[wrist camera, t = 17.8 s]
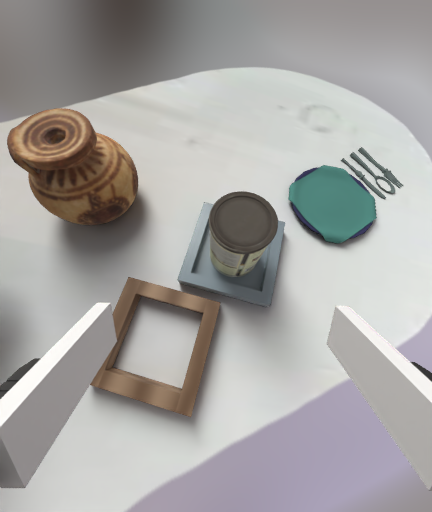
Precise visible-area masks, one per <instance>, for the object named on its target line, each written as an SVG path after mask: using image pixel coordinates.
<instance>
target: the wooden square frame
mask: <svg viewBox="0 0 432 512" xmlns="http://www.w3.org/2000/svg"><path fill="white" fill-rule="evenodd" d="M141 296H143V297H146V298H150V299H153V300H157V301H160V302H164V303H167V304H171V305H174V306H178V307H181V308H185V309H188V310H192V311H195V312H199V313H202V314H203V317H202V320H201V324H200V327H199V331H198V334H197V338H196V341H195V345H194V348H193V352H192V356H191V359H190V363H189V366H188V370H187V373H186V377H185V380H184V384H183V387H182V389H181V388H177V387H174V386H171V385H168V384H164V383H161V382H158V381H155V380H152V379H148V378H145V377H142V376H139V375H136V374H132V373H129V372H126V371H123V370H119V369H116V368H113V365H114V362H115V360H116V357H117V355H118V352H119V350H120V347H121V345H122V342H123V340H124V337H125V335H126V332H127V330H128V327H129V325H130V322H131V320H132V317H133V315H134V312H135V310H136V307H137V305H138V302H139V300H140V297H141ZM219 307H220V302H216V301H213V300H209V299H206V298H202V297H198V296H195V295H191V294H188V293H184V292H181V291H177V290H173V289H170V288H166V287H163V286H159V285H155V284H152V283H148V282H145V281H141V280H138V279H134V278H130V277H128V280H127V282H126V284H125V287H124V289H123V291H122V294H121V296H120V298H119V300H118V303H117V305H116V307H115V310H114V312H113V314H112V315H113V321H114V327H115V333H116V339H117V342H116V344H115V345H114V347H113V348H112V350H111V352H110V353H109V355H108V356H107V358H106V360H105V361H104V363H103V364H102V366H101V368H100V369H99V371H98V372H97V374H96V376H95V377H94V379H93V380H92V382H91V384H90V385H92V386H95V387H98V388H101V389H104V390H107V391H111V392H114V393H117V394H120V395H123V396H126V397H129V398H132V399H136V400H139V401H142V402H145V403H148V404H151V405H154V406H158V407H161V408H164V409H167V410H170V411H173V412H176V413H179V414H183V415H186V416H189V417H191V415H192V411H193V407H194V403H195V399H196V396H197V392H198V388H199V384H200V380H201V376H202V372H203V369H204V365H205V361H206V357H207V353H208V349H209V346H210V342H211V338H212V334H213V330H214V326H215V322H216V319H217V315H218V311H219Z"/></svg>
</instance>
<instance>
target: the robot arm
mask: <svg viewBox="0 0 432 512" xmlns="http://www.w3.org/2000/svg"><path fill="white" fill-rule="evenodd" d="M116 342H117V339H116V333H115V327H114V321H113V315H112V309H111V303H96V304H95V305H94V306H93V307H92V308H91V309H90V310H89V311H88V312H87V313H86V314H85V315H84V316H83V317H82V318H81V319H80V320H79V321H78V322H77V323H76V324H75V325H74V326H73V327H72V328H71V329H70V330H69V331H68V332H67V333H66V334H65V335H64V336H63V337H62V338H61V339H60V340H59V341H58V342H57V343H56V344H55V345H54V346H53V347H52V348H51V349H50V350H49V351H48V352H47V353H46V354H45V355H44V356H43V357H42V358H41V359H33V360H32V361H30V362H28V363H27V364H25V365H24V366H22V367H21V368H19V369H18V370H17V371H16V372H15V373H14V374H13V375H12V376H11V377H10V378H9V379H8V380H7V382H4V383H3V384H2V385H1V386H0V487H1V488H25V487H26V486H27V484H28V482H29V481H30V479H31V478H32V476H33V474H34V473H35V471H36V470H37V468H38V467H39V465H40V463H41V462H42V460H43V459H44V457H45V455H46V454H47V452H48V451H49V449H50V447H51V446H52V444H53V443H54V441H55V439H56V438H57V436H58V435H59V433H60V431H61V430H62V428H63V427H64V425H65V423H66V422H67V420H68V419H69V417H70V415H71V414H72V412H73V411H74V409H75V408H76V406H77V404H78V403H79V401H80V400H81V398H82V396H83V395H84V393H85V392H86V390H87V388H88V387H89V385H90V384H91V382H92V380H93V379H94V377H95V376H96V374H97V372H98V371H99V369H100V368H101V366H102V364H103V363H104V361H105V360H106V358H107V356H108V355H109V353H110V352H111V350H112V348H113V347H114V345H115V344H116ZM327 345H328V347H329V348H330V350H331V351H332V352H333V354H334V355H335V357H336V358H337V360H338V361H339V362H340V364H341V365H342V367H343V368H344V370H345V371H346V372H347V374H348V375H349V377H350V378H351V380H352V381H353V382H354V384H355V385H356V387H357V388H358V390H359V391H360V393H361V394H362V395H363V397H364V398H365V400H366V401H367V403H368V404H369V405H370V407H371V408H372V410H373V411H374V413H375V414H376V415H377V417H378V418H379V420H380V421H381V422H382V424H383V425H384V427H385V428H386V430H387V431H388V433H389V434H390V435H391V437H392V438H393V440H394V441H395V443H396V444H397V446H398V447H399V448H400V450H401V451H402V453H403V454H404V455H405V457H406V458H407V460H408V461H409V463H410V464H411V466H412V467H413V468H414V470H415V471H416V473H417V474H418V476H419V477H420V478H421V480H422V481H423V483H424V484H425V486H426V487H427V489H428V490H429V491H432V373H431V372H430V371H428V370H426V369H425V368H423V367H422V366H420V365H418V364H417V363H415V362H409V361H408V360H407V359H406V358H405V357H404V356H403V355H402V354H400V353H399V352H398V351H397V350H396V349H395V348H394V347H393V346H392V345H391V344H390V343H389V342H387V341H386V340H385V339H384V338H383V337H382V336H381V335H380V334H379V333H378V332H376V331H375V330H374V329H373V328H372V327H371V326H370V325H369V324H368V323H367V322H365V321H364V320H363V319H362V318H361V317H360V316H359V315H358V314H357V313H356V312H355V311H353V310H352V309H351V308H350V307H349V306H335V310H334V315H333V319H332V323H331V328H330V332H329V336H328V340H327Z"/></svg>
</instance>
